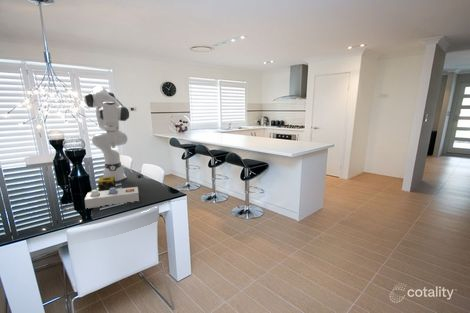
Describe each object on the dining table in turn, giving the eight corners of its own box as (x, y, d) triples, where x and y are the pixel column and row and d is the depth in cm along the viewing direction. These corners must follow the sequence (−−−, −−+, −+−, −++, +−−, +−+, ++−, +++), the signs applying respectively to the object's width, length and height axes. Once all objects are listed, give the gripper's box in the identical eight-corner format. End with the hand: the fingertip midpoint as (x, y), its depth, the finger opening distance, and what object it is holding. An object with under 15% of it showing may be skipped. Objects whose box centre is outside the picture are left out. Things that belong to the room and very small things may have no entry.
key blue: (110, 195, 152) (109, 187, 151) (116, 194, 154) (116, 187, 153) (109, 197, 149) (108, 190, 148) (116, 196, 150) (116, 189, 149)
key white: (92, 197, 148) (91, 189, 147) (99, 196, 150) (98, 189, 149) (91, 199, 145) (90, 192, 144) (99, 198, 146) (98, 191, 145)
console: (88, 201, 152) (87, 192, 150) (138, 194, 164) (137, 186, 162) (85, 208, 141) (84, 199, 140) (139, 201, 153) (138, 192, 152)
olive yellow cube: (100, 190, 171) (99, 177, 169) (116, 188, 174) (115, 176, 172) (98, 195, 162) (96, 181, 159) (114, 193, 165) (113, 180, 163)
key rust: (127, 196, 157) (126, 189, 156) (133, 195, 159) (133, 188, 157) (127, 198, 153) (126, 191, 152) (133, 197, 155) (133, 190, 154)
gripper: (107, 125, 161) (109, 145, 164) (105, 128, 143) (107, 150, 146) (117, 125, 164) (119, 144, 167) (116, 128, 145) (118, 150, 149)
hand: (113, 147), depth 156 cm, fingers closed
